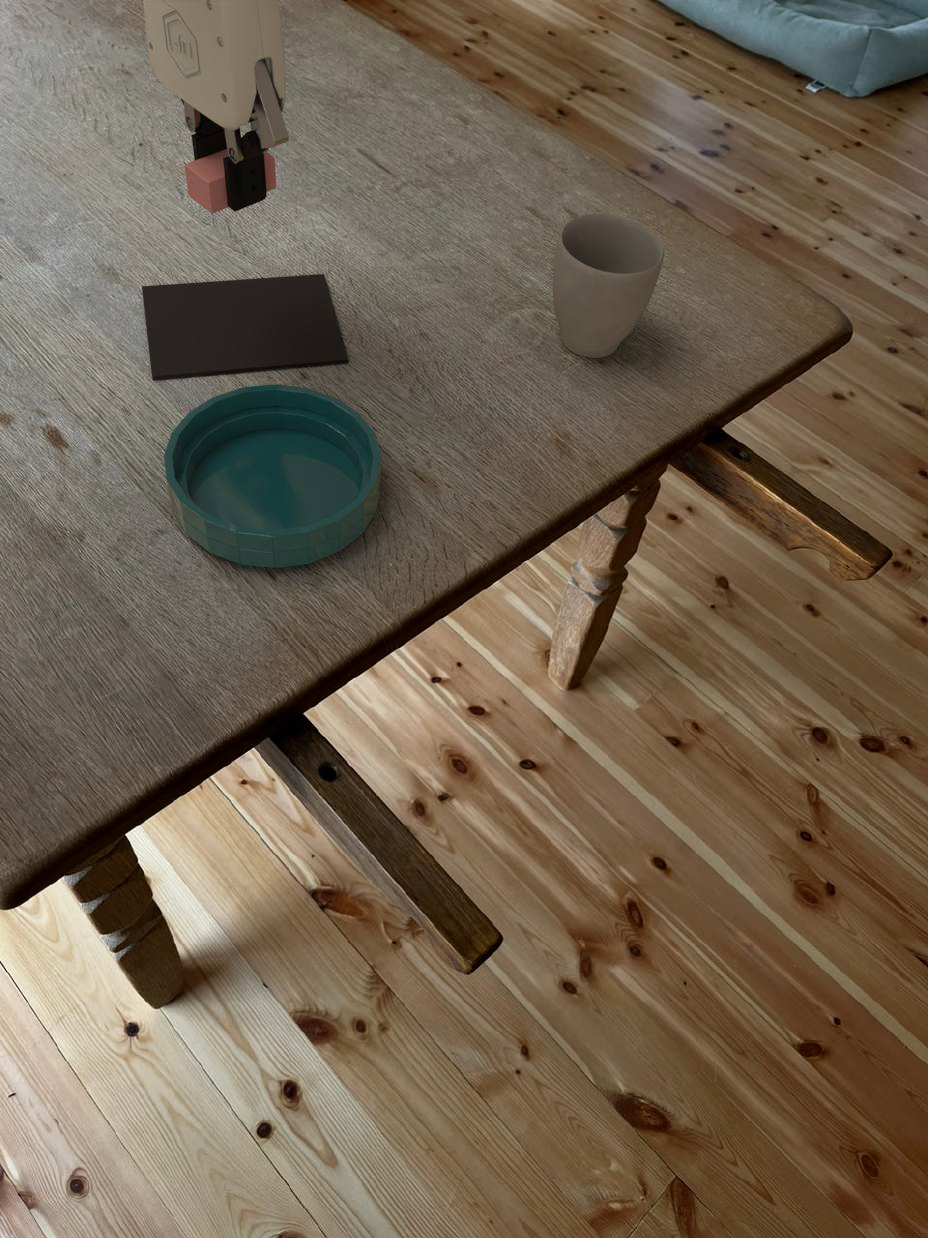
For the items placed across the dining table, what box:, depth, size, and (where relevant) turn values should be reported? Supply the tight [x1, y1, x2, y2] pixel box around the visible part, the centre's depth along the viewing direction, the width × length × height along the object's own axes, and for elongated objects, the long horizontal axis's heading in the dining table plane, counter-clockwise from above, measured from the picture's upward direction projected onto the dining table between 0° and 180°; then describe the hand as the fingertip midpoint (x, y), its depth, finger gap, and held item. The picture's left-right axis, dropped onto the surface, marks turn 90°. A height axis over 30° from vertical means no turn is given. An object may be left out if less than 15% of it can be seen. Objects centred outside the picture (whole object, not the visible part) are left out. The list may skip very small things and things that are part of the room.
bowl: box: [163, 383, 382, 569], centre depth 74 cm, size 15×15×4 cm
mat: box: [141, 273, 349, 381], centre depth 86 cm, size 16×12×1 cm
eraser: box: [183, 149, 277, 214], centre depth 75 cm, size 6×3×2 cm, turn 134°
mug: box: [552, 212, 665, 359], centre depth 87 cm, size 12×9×10 cm
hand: (232, 190), depth 76 cm, fingers closed on eraser, 3 cm apart
